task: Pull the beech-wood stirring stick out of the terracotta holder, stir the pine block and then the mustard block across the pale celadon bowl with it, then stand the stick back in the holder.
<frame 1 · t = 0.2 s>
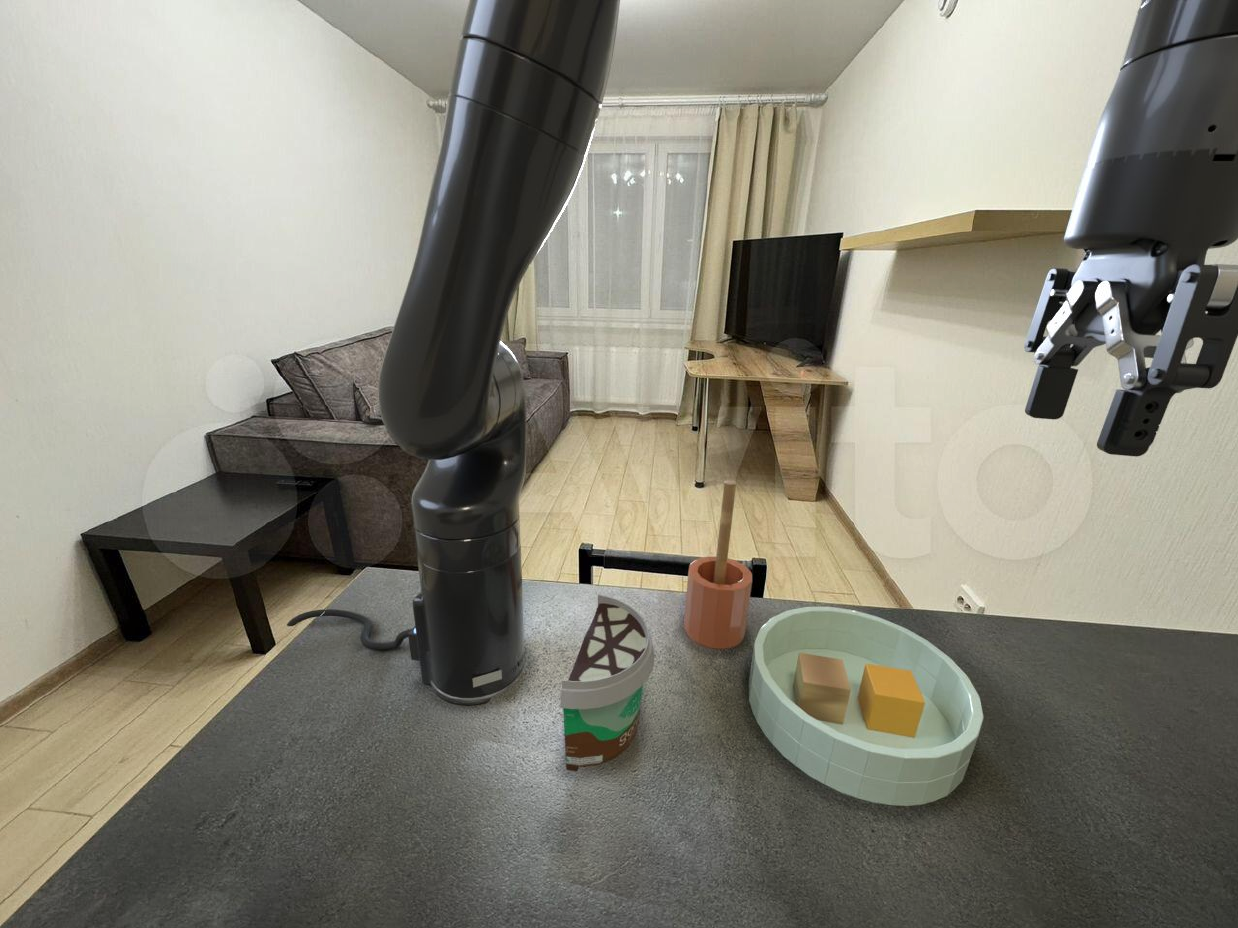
hand: (1076, 433, 35), 29 cm above the table, tool pointing down, fingers open, 8 cm apart
stirring stick: (713, 628, 59), point 1 cm above the table, touching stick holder
pine block: (816, 704, 49), point 1 cm above the table, touching bowl
food container: (614, 732, 46), on the table
mustard block: (884, 716, 48), point 1 cm above the table, touching bowl
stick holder: (713, 632, 60), on the table
bowl: (849, 715, 49), on the table
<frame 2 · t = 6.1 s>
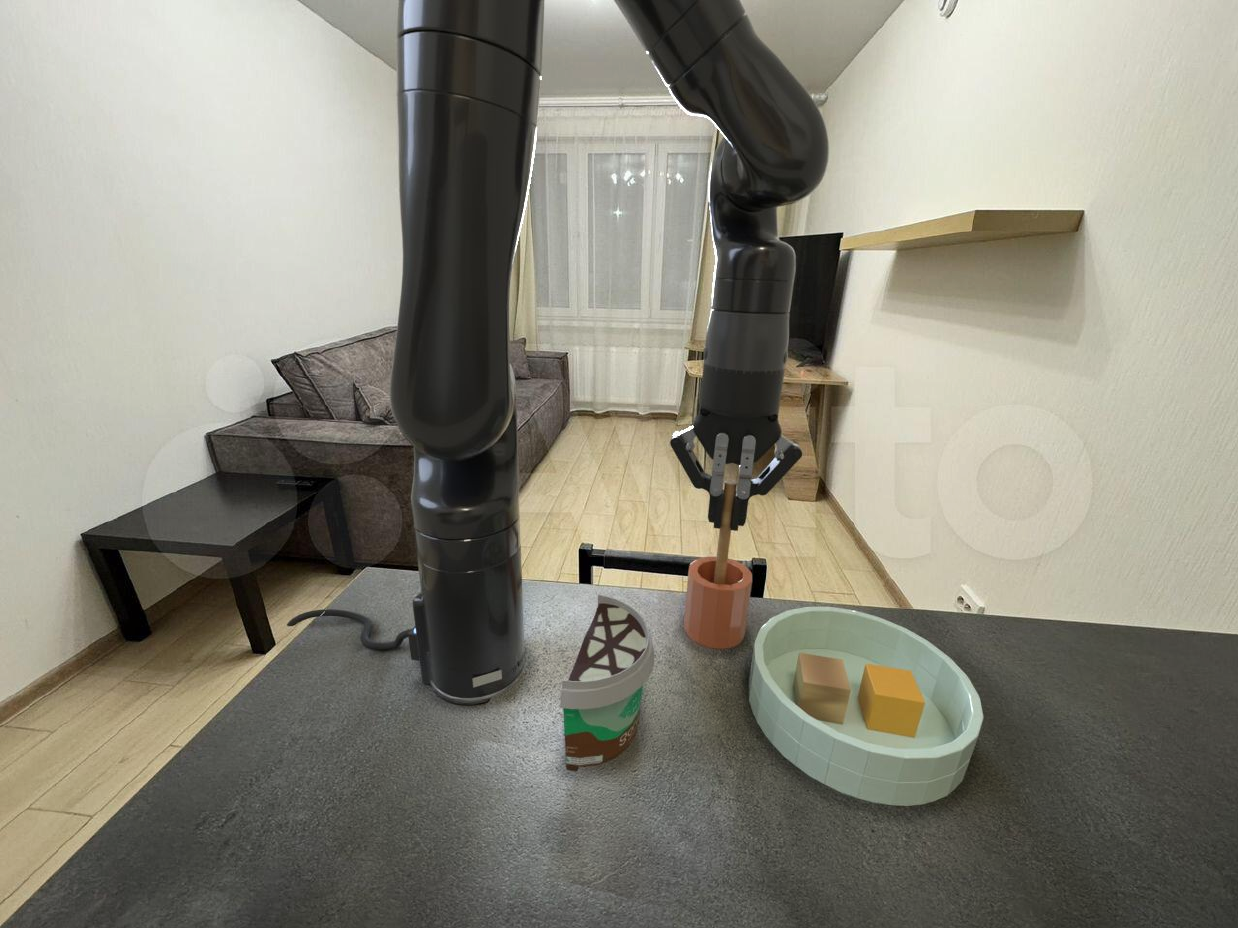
hand: (725, 525, 55), 14 cm above the table, tool pointing down, fingers closed on stirring stick, 1 cm apart
stirring stick: (713, 628, 59), point 1 cm above the table, touching gripper, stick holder
everything else where it was.
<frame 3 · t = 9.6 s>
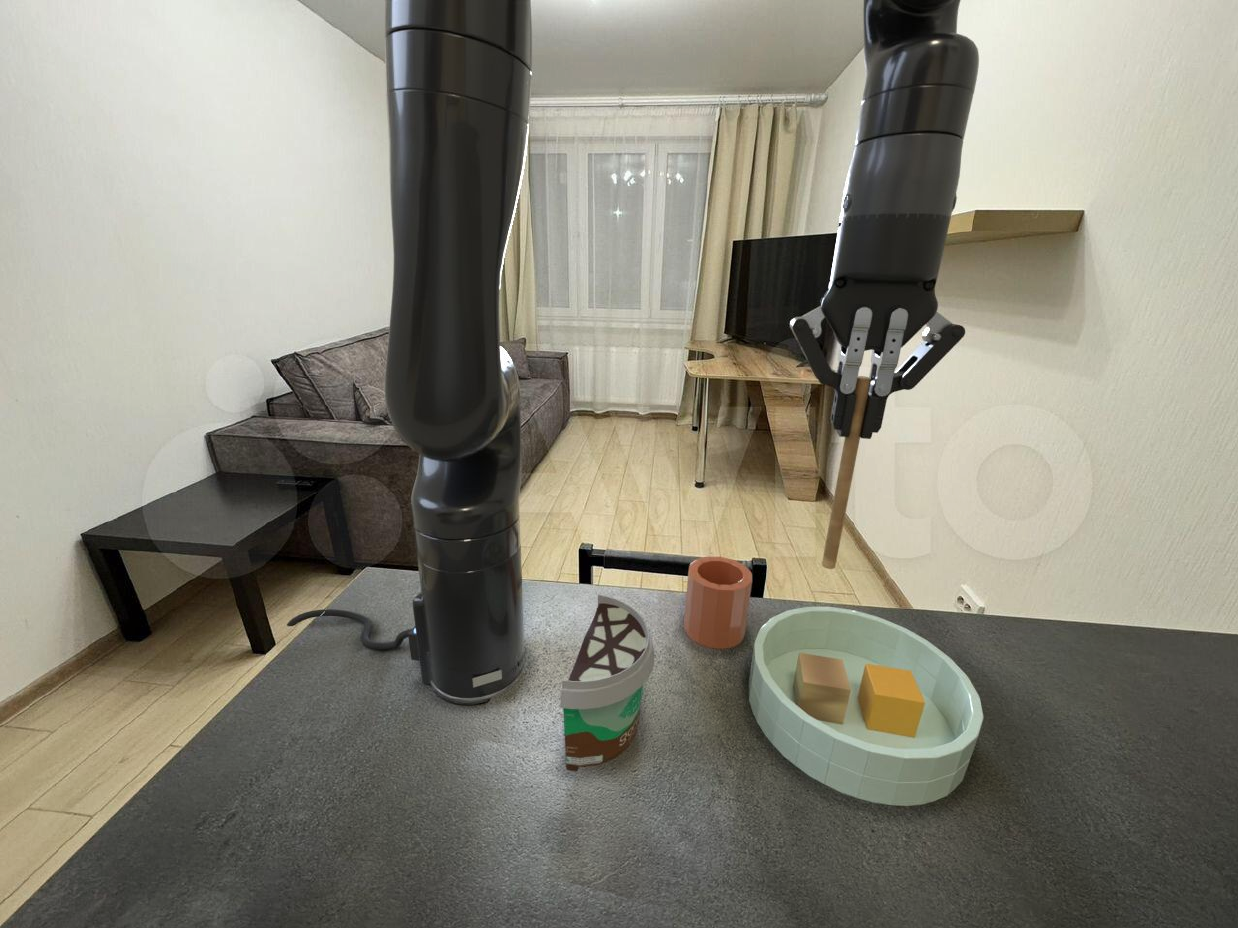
hand: (852, 434, 45), 26 cm above the table, tool pointing down, fingers closed on stirring stick, 1 cm apart
stirring stick: (828, 566, 50), point 13 cm above the table, touching gripper
everything else where it was.
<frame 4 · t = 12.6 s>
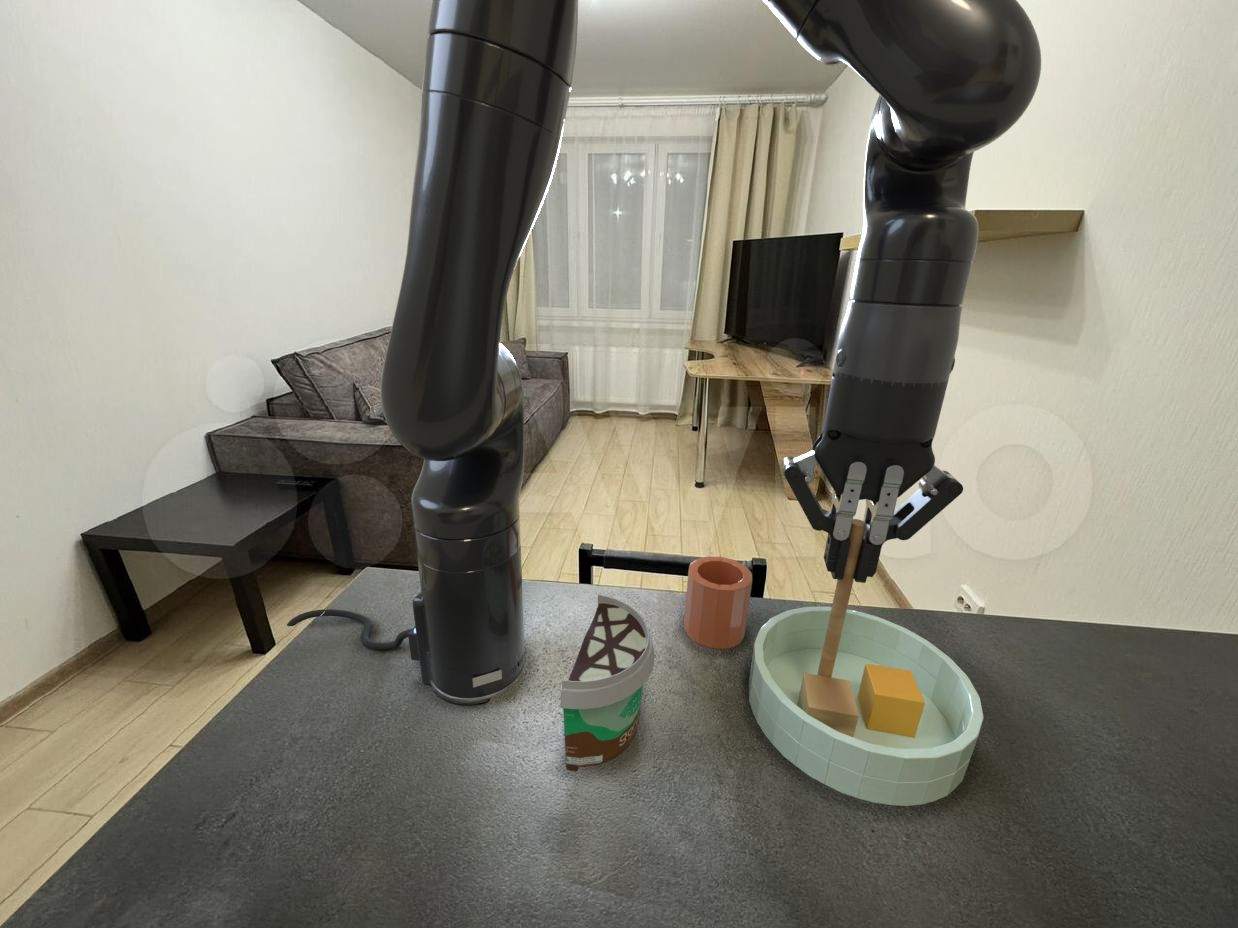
hand: (846, 575, 44), 15 cm above the table, tool pointing down, fingers closed on stirring stick, 1 cm apart
stirring stick: (820, 693, 49), point 2 cm above the table, touching gripper, pine block
pine block: (822, 727, 47), point 1 cm above the table, touching bowl, stirring stick
everything else where it was.
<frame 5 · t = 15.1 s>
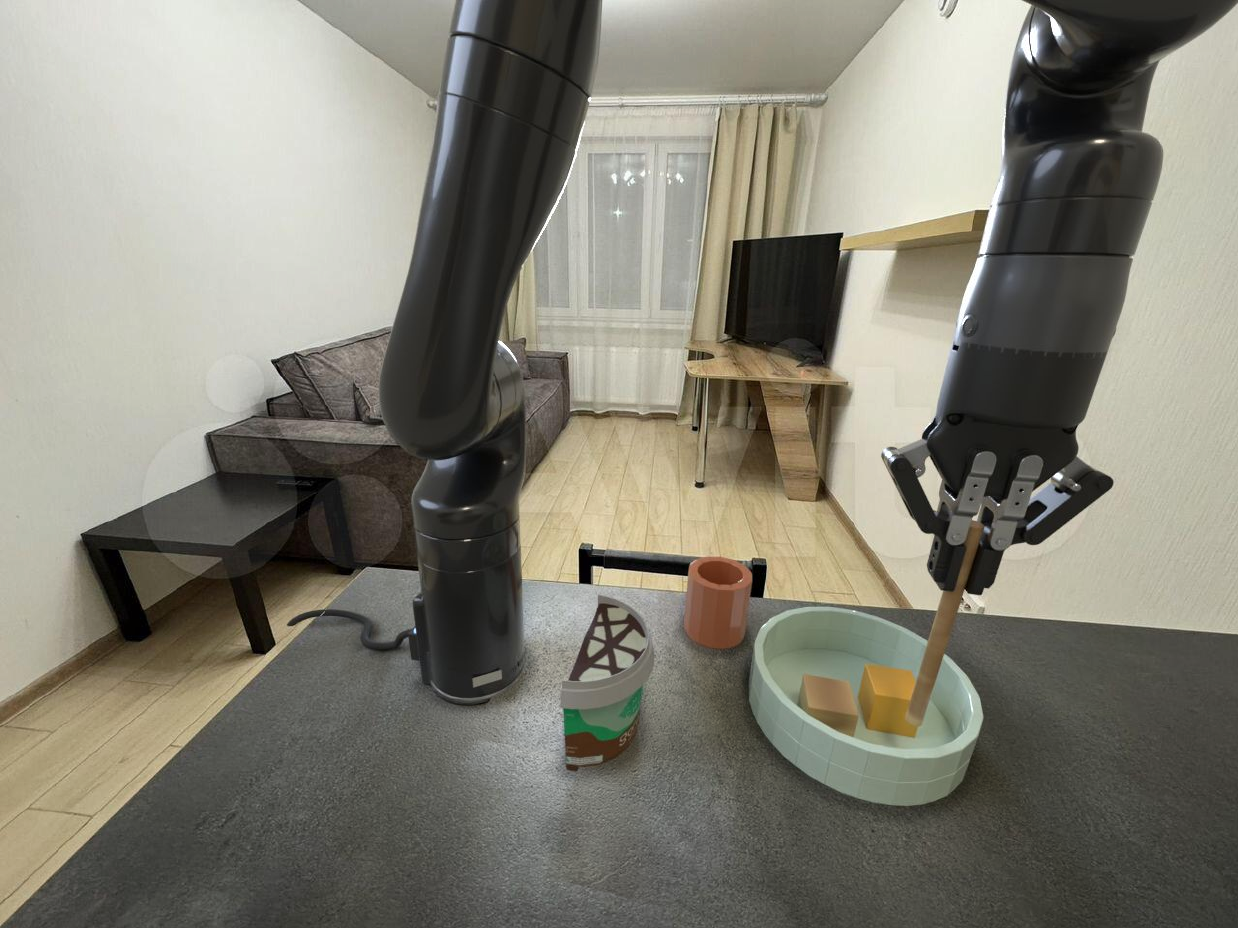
hand: (955, 586, 37), 18 cm above the table, tool pointing down, fingers closed on stirring stick, 1 cm apart
stirring stick: (913, 721, 42), point 5 cm above the table, touching gripper
pine block: (822, 728, 47), point 1 cm above the table, touching bowl
everything else where it was.
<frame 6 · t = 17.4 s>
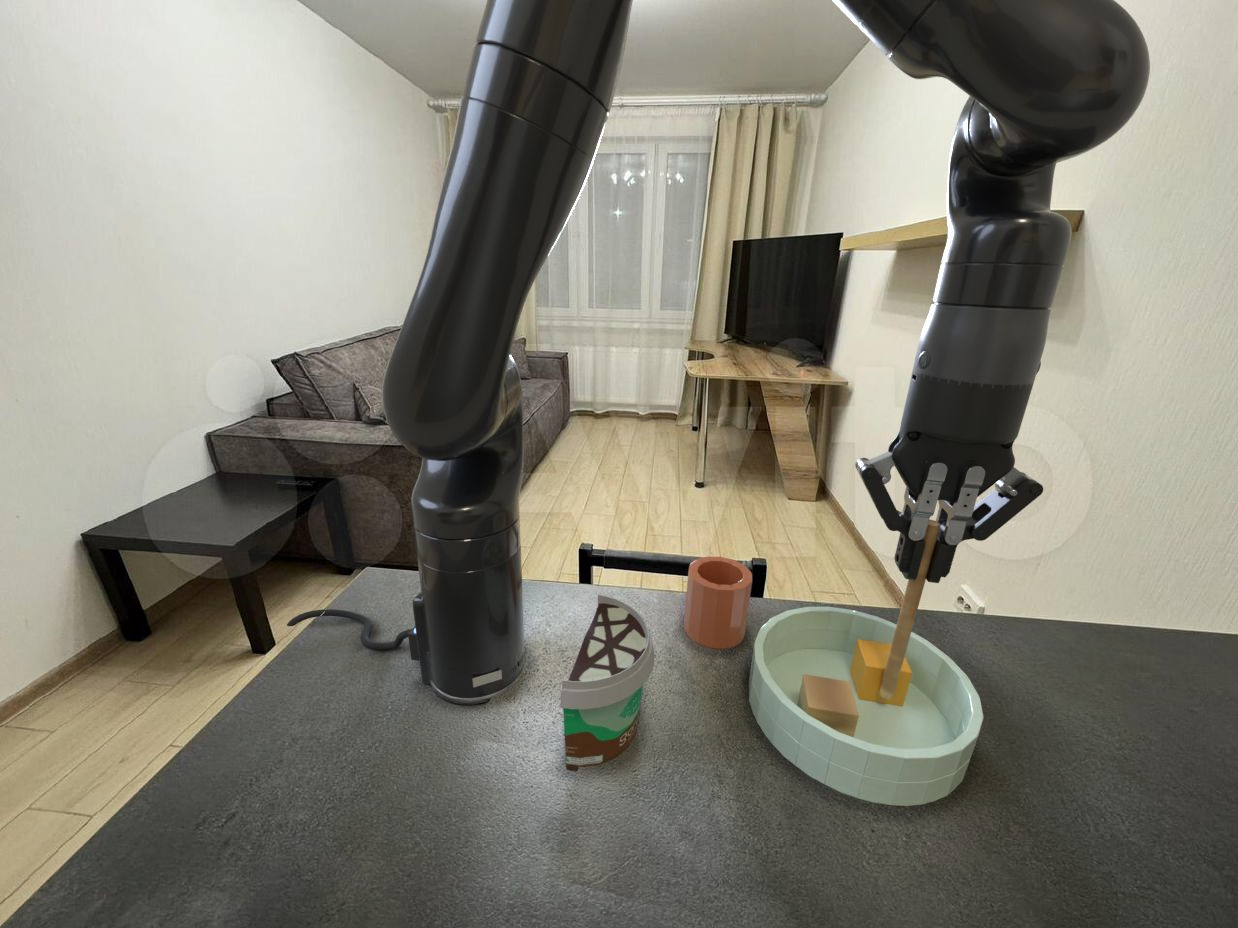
hand: (918, 575, 44), 15 cm above the table, tool pointing down, fingers closed on stirring stick, 1 cm apart
stirring stick: (885, 695, 49), point 2 cm above the table, touching gripper, mustard block
mustard block: (875, 687, 52), point 1 cm above the table, touching bowl, stirring stick
everything else where it was.
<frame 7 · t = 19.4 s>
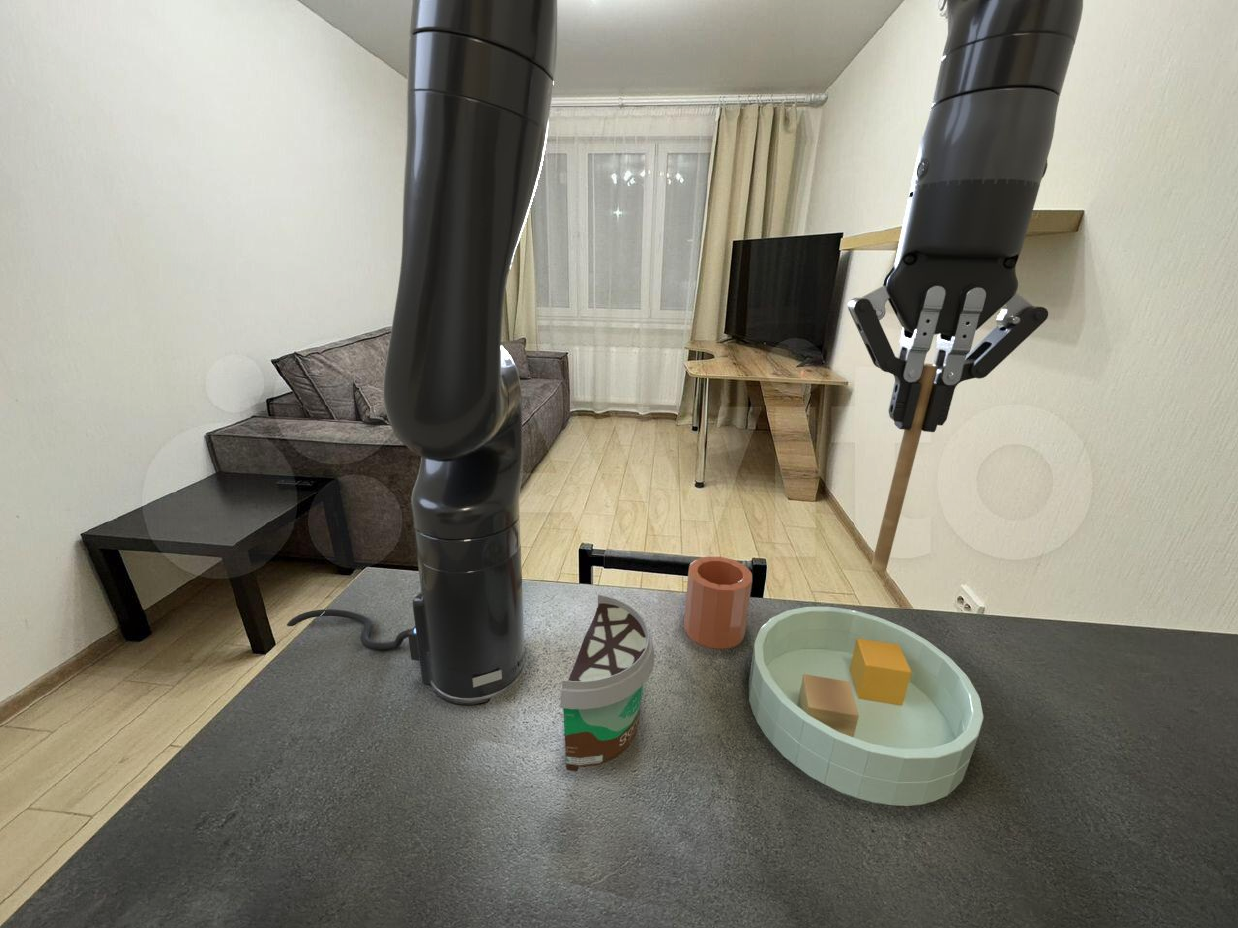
hand: (913, 427, 41), 27 cm above the table, tool pointing down, fingers closed on stirring stick, 1 cm apart
stirring stick: (878, 568, 46), point 14 cm above the table, touching gripper
mustard block: (874, 687, 52), point 1 cm above the table, touching bowl
everything else where it was.
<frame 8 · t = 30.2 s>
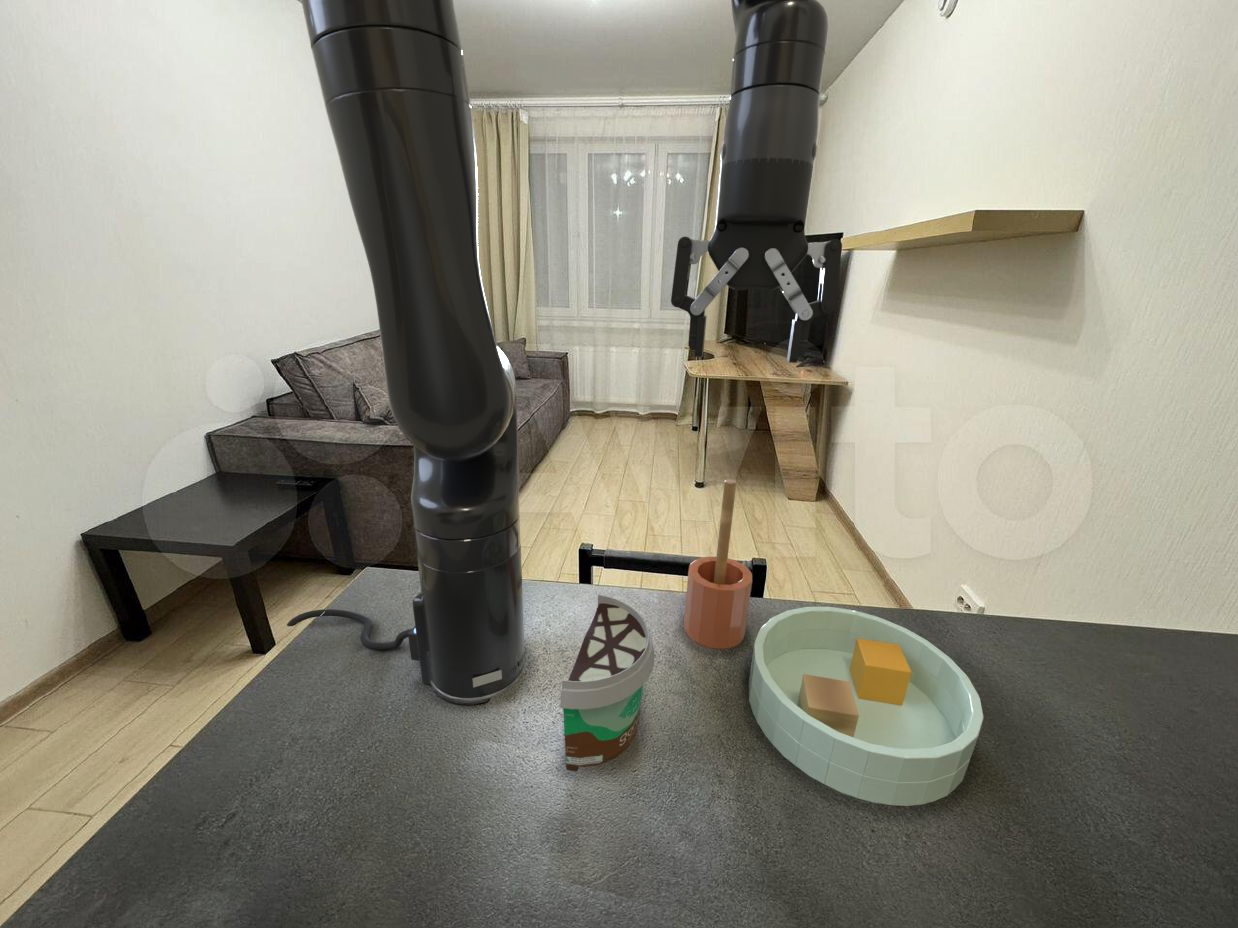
hand: (744, 359, 49), 31 cm above the table, tool pointing down, fingers open, 8 cm apart
stirring stick: (714, 626, 60), point 1 cm above the table, touching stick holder
everything else where it was.
at the end: pine block moved 2.9 cm from its start; mustard block moved 3.7 cm from its start; mustard block inside the target area in the bowl (4.8 cm from its centre), point 0.6 cm above the bowl's base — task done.
